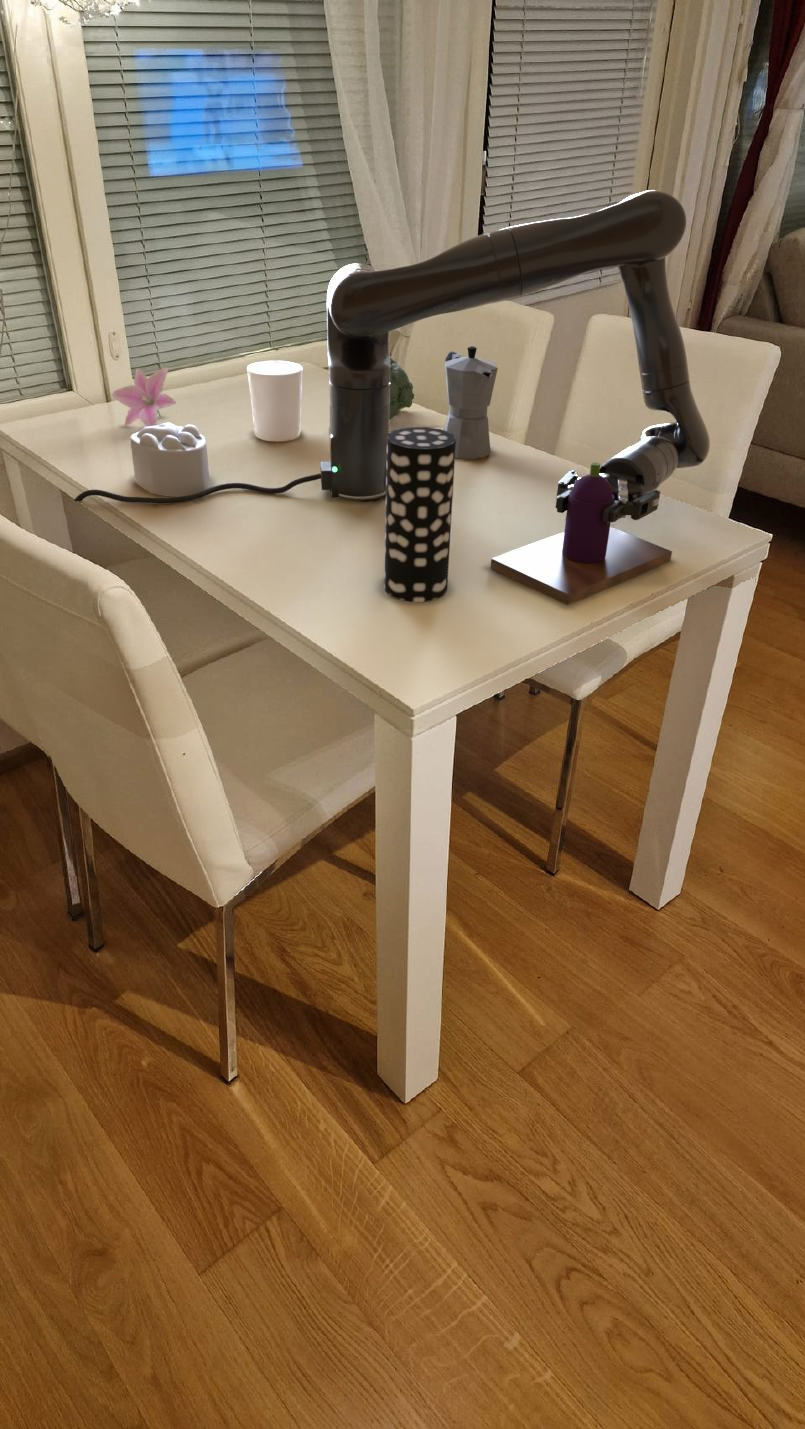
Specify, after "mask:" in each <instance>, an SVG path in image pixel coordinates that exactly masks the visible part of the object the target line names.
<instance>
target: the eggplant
mask: <svg viewBox="0 0 805 1429" xmlns="http://www.w3.org/2000/svg"><path fill="white" fill-rule="evenodd" d="M600 467H601V463H599V462H592V463H591V464H590V468H589V469H590V470H589V473H587V474H585V475H583V476H581V478H579V479H578V480H577V481H576V483H575V484H574V486H573V488H572V490H571V491H570V492H569V498H568V506H567V510H566V515H565V523H564V531H563V532H564V540H563V548H562V554H563V555H564V556H565V557H566V558H568V559H570V560H572V561H576V562H581V563H595V562H599V561H602V560H603V559H604V558H605V557H606V551H607V544H608V537H609V530H610V527H611V523H610V524H608V525H606V524H603V523H602V520H603V513H604V510H605V508H606V507H607V506H609V505H610V504H612V503H613V502H614V495H613V494H612V488H611V485H610V483H609V482H608V480H607V479H606V478H604V477H603V476H601V475H599V471H600Z"/></svg>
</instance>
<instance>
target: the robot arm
mask: <svg viewBox="0 0 805 1429" xmlns="http://www.w3.org/2000/svg"><path fill="white" fill-rule="evenodd" d="M686 229H687V213H686V211H685V208H684V207H683V205H682V204H681V202H680V201H679V200H678V199H677V198H676V197H675V196H674V195H672V194H670V193H668V192H666V191H662V190H658V189H656V190H655V189H651V190H645V191H642V192H639V193H635V194H632V195H629V196H628V197H626V198H624V199H623V200H622V201H620V202H618V203H616V204H613V205H611V206H608V207H605V208H602V209H600V210H597V211H594V212H591V213H587V214H582V215H578V216H572V217H564V218H556V219H555V218H554V219H548V220H542V221H535V222H529V223H523V224H519V225H514V226H508V227H505V228H501V229H498V230H497V229H496V230H494V231H489V232H485V233H482V234H479V235H476V236H474V237H471V238H469V239H467V240H464V241H462V242H460V243H458V244H455V245H453V246H451V247H450V248H447V249H446V250H443V251H442V252H440V253H439V254H436V255H434V256H433V257H431V258H428V259H426V260H423V261H419V262H417V263H413V264H410V265H405V266H399V267H395V268H389V269H382V270H377V269H376V268H375V267H373V266H371V265H369V264H366V263H359V262H354V263H350V264H347V265H345V266H343V267H341V268H340V269H338V270H337V272H336V273H334V275H333V277H332V278H331V280H330V282H329V284H328V287H327V293H326V324H327V325H326V328H327V329H326V330H327V332H326V333H327V362H328V388H329V389H328V393H329V394H328V396H329V397H328V398H329V427H328V445H329V446H328V450H329V451H328V453H329V455H328V456H329V458H328V459H329V461H320V463H319V464H320V466H319V467H320V472H319V473H315V474H311V475H306V476H303V477H299V478H296V479H294V480H292V481H290V482H289V483H287V484H285V485H284V486H280V487H264V486H260V485H256V484H250V483H246V482H228V483H221V484H217V485H213V486H210V488H208V489H206V490H203V491H201V492H198V493H195V494H192V495H188V496H182V497H173V496H171V497H145V496H127V495H121V494H117V493H114V492H110V491H107V490H102V489H88V490H85V491H82V492H81V493H79V494H78V495H77V496H76V497H75V498H74V500H73V501H74V502H82V501H83V500H84V499H86V498H88V497H91V496H99V497H103V498H108V499H111V500H115V501H118V502H123V503H133V504H155V505H158V504H161V505H162V504H164V505H165V504H180V503H186V502H192V501H196V500H199V499H201V498H204V497H206V496H209V495H211V494H213V493H216V492H220V491H224V490H231V489H241V490H248V491H252V492H257V493H262V494H269V495H270V494H271V495H272V494H283V493H286V492H288V491H289V490H292V489H293V488H294V487H296V486H298V485H301V484H305V483H307V482H313V481H317V480H320V486H321V491H330V498H333V499H334V498H335V499H342V500H346V501H354V502H366V501H367V502H368V501H373V500H379V499H381V498H383V497H386V462H387V435H388V434H389V433H390V421H389V415H390V358H391V357H390V332H392V331H395V330H397V329H399V328H402V327H405V326H408V325H410V324H413V323H416V322H419V321H421V320H425V319H427V318H431V317H434V316H439V315H445V314H450V313H455V312H460V311H464V310H465V311H466V310H469V309H474V308H478V307H483V306H487V305H493V304H497V303H500V302H504V301H509V300H512V299H516V298H520V297H523V296H526V295H529V294H533V293H536V292H539V291H542V290H545V289H548V288H550V287H553V286H556V285H559V284H561V283H564V282H566V281H569V280H571V279H575V278H576V277H579V276H582V275H584V274H587V273H591V272H594V271H598V270H603V269H609V268H614V267H617V268H618V272H619V274H620V275H619V276H620V278H621V281H622V285H623V290H624V292H625V297H626V301H627V304H628V309H629V314H630V318H631V323H632V324H631V325H632V329H633V330H632V331H633V335H634V341H635V349H636V356H637V361H638V368H639V377H640V382H641V390H642V395H643V402H644V405H645V407H646V408H647V409H649V410H651V411H659V412H665V413H668V414H670V415H671V416H672V417H673V419H674V420H675V421H673V422H666V423H658V424H654V425H650V426H648V427H646V428H645V429H644V430H642V431H641V434H640V436H639V439H638V441H637V443H635V444H634V445H632V446H628V447H627V448H625V449H623V450H621V451H620V452H618V453H617V454H616V455H614V456H613V457H611V458H609V459H608V460H606V461H605V462H604V463H603V464H602V465H600V471H599V475H601V476H603V477H604V478H606V479H607V480H608V482H609V483H610V485H611V488H612V494H613V495H614V502H613V503H612V504H610V505H609V506H607V507H606V508H605V510H604V513H603V520H602V523H603V524H606V525H608V524H610V525H611V524H612V523H616V522H618V521H619V519H625V518H626V517H627V516H630V519H631V520H634V521H638V520H641V519H643V518H644V517H646V516H648V515H650V514H652V513H653V512H655V511H657V510H658V509H659V502H660V498H661V491H660V490H658V488H659V487H660V486H661V484H663V483H664V482H665V481H667V480H668V479H669V478H670V477H671V476H672V475H673V474H674V473H675V471H676V470H677V469H683V468H685V469H686V468H692V467H693V468H694V467H697V466H700V465H701V464H703V463H704V462H705V460H706V459H707V457H708V455H709V452H710V446H711V440H710V434H709V431H708V429H707V426H706V424H705V422H704V420H703V417H702V415H701V412H700V410H699V408H698V406H697V402H696V400H695V397H694V394H693V392H692V387H691V381H690V374H689V365H688V358H687V352H686V346H685V342H684V339H683V334H682V331H681V328H680V325H679V322H678V319H677V317H676V313H675V311H674V308H673V304H672V301H671V295H670V292H669V286H668V279H667V268H666V267H667V266H666V265H667V264H666V257H667V256H669V255H670V254H671V253H673V251H674V250H675V249H676V248H677V247H678V246H679V244H680V243H681V241H682V239H683V237H684V235H685V232H686ZM581 477H582V476H581ZM581 477H580V476H579V475H578V471H577V470H569V471H568V472H567V473H566V474H565V475H564V476H563V477H561V478H560V479H559V481H558V482H557V489H556V498H555V499H556V501H555V509H556V512H557V513H560V514H564V513H565V512H567V506H568V498H569V492H570V491H571V490H572V488H573V486H574V484H575V483H576V481H577V480H578V479H579V478H581Z"/></svg>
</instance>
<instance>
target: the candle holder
mask: <svg viewBox="0 0 805 1429" xmlns="http://www.w3.org/2000/svg"><path fill="white" fill-rule="evenodd" d="M303 370H304V368H303V366H302V365H301V364H299V363H297V362H293V361H286V360H262V361H257V362H253V363H250V364H249V365H247V367H246V372H247V377H248V379H247V380H248V386H249V397H250V405H251V413H252V422H253V430H254V431H253V432H254V435H255V437H256V438H257V439H260V440H262V441H266V442H275V443H278V442H289V441H292V440H296V439H298V438H299V437H300V436H301V431H302V430H301V428H302V400H303V398H302V396H303V395H302V394H303Z"/></svg>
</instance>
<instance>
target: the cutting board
mask: <svg viewBox="0 0 805 1429" xmlns="http://www.w3.org/2000/svg"><path fill="white" fill-rule="evenodd" d="M563 540H564V531H562V532H559V533H557V534H554V535H551V536H549V537H546V538H543V539H540V540H538V541H534V542H532V543H530V544H527V545H524V546H521V547H519V548H516V549H512V550H510V551H508V552H505V553H502V554H499V555H496V556H494V557H491V559H490V569H491V570H493V571H495V572H498V573H499V574H500V575H501V574H502V575H503V576H505V577H508V578H510V579H511V580H514V581H516V582H518V583H520V584H522V585H525V586H527V587H529V588H530V589H533V590H535V591H537V592H539V593H541V594H543V595H545V596H547V597H550V598H552V599H554V600H555V601H558V602H560V603H562V604H564V605H566V606H569V605H572V604H574V603H576V602H579V601H581V600H583V599H585V598H588V597H591V596H593V595H595V594H597V593H600V592H602V591H604V590H606V589H608V588H611V587H613V586H616V585H618V584H621V583H622V582H625V581H627V580H629V579H632V578H635V577H636V576H639V575H641V574H643V573H647V572H648V571H650V570H652V569H655V568H657V567H660V566H663V565H664V564H667V563H669V562H671V560H672V554H673V550H670V549H668V548H665V547H663V546H661V545H658V544H655V543H653V542H650V541H648V540H645V539H643V538H640V537H637V536H635V535H632V534H630V533H627V532H626V531H622V530H620V529H617V528H615V527H613V526H610V530H609V537H608V544H607V551H606V557H605V558H604V559H603V560H602V561H599V562H595V563H581V562H576V561H572V560H570V559H568V558H566V557H565V556H564V555H563V554H562V548H563Z"/></svg>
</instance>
